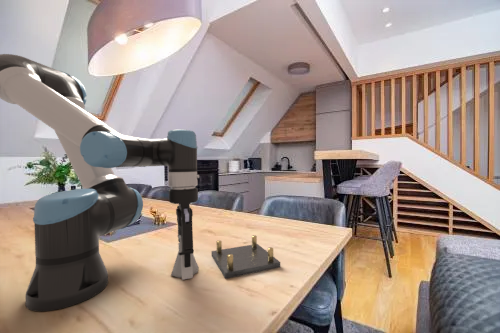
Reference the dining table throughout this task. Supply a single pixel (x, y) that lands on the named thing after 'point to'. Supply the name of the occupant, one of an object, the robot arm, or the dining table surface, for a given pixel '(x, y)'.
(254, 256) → the pin plate
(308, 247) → the dining table surface
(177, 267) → the flask
